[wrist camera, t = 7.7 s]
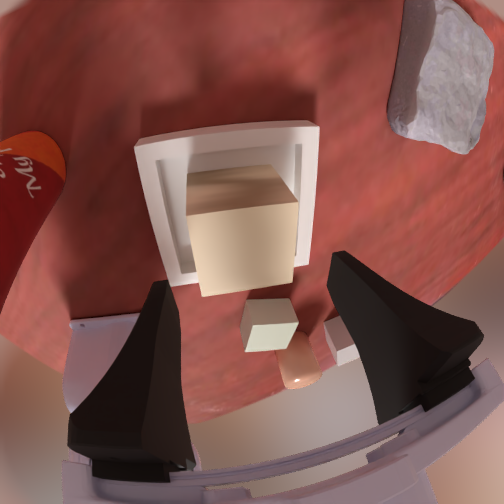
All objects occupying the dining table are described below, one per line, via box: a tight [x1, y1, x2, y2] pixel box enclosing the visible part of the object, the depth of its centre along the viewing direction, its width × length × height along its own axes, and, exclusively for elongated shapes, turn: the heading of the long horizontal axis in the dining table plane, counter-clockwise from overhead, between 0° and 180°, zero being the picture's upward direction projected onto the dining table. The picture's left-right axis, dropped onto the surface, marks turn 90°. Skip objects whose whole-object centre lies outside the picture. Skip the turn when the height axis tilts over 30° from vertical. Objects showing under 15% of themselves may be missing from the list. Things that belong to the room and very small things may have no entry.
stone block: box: [387, 0, 494, 154], centre depth 13 cm, size 12×5×10 cm
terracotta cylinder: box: [274, 331, 322, 389], centre depth 28 cm, size 4×4×5 cm
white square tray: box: [134, 120, 319, 287], centre depth 17 cm, size 10×10×2 cm
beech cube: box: [186, 164, 299, 297], centre depth 15 cm, size 5×5×5 cm
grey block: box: [324, 316, 360, 366], centre depth 28 cm, size 4×4×4 cm
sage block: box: [240, 298, 299, 352], centre depth 24 cm, size 4×4×3 cm
